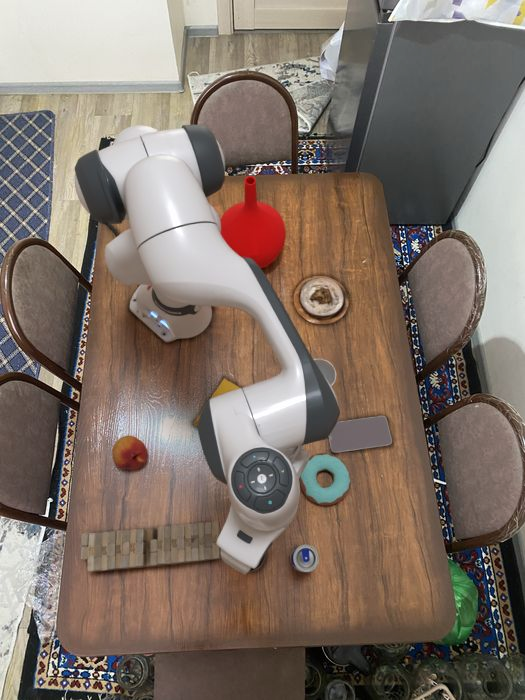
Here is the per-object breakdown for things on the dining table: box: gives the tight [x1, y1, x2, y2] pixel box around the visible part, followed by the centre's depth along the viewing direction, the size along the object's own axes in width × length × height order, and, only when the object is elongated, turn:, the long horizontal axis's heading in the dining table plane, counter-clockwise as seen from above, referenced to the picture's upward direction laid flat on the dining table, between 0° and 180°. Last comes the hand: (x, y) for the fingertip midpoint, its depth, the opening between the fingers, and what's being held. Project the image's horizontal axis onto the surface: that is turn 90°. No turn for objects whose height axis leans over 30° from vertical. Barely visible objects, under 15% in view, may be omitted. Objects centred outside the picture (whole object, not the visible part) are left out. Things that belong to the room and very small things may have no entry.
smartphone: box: [327, 415, 393, 454], centre depth 126 cm, size 7×1×15 cm
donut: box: [299, 452, 352, 506], centre depth 121 cm, size 12×12×4 cm
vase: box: [220, 175, 287, 269], centre depth 134 cm, size 18×18×30 cm
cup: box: [313, 358, 337, 388], centre depth 127 cm, size 8×8×10 cm
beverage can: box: [289, 544, 320, 573], centre depth 109 cm, size 5×5×15 cm
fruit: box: [111, 435, 149, 470], centre depth 121 cm, size 8×8×8 cm
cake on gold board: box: [293, 275, 349, 325], centre depth 140 cm, size 15×15×4 cm
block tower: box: [80, 520, 221, 572], centre depth 113 cm, size 8×8×29 cm
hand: (270, 512), depth 85 cm, fingers open, 8 cm apart
